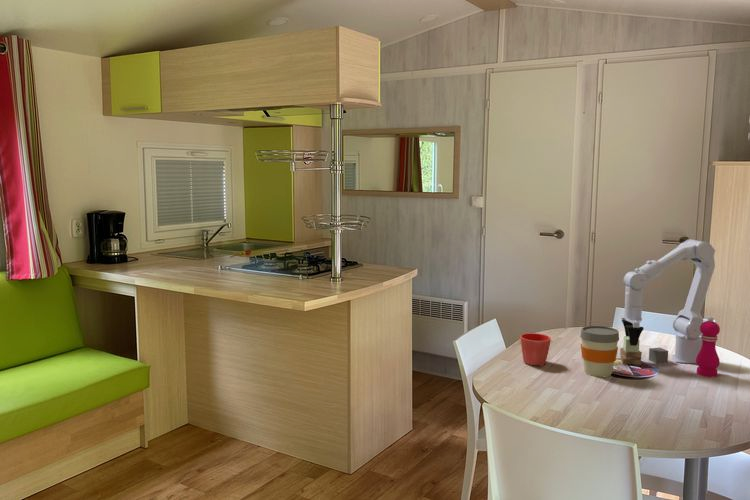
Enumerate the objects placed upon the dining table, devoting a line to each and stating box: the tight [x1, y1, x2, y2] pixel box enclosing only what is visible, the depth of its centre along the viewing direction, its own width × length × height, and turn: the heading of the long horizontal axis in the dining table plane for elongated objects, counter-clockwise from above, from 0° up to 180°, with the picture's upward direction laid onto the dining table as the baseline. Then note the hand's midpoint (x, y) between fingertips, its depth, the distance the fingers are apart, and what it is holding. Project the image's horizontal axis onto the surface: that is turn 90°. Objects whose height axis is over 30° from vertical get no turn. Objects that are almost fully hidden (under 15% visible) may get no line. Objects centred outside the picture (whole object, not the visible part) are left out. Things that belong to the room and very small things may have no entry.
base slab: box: [619, 355, 642, 366], centre depth 231 cm, size 6×6×2 cm
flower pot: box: [520, 332, 552, 366], centre depth 230 cm, size 11×11×10 cm
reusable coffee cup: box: [580, 325, 620, 378], centre depth 219 cm, size 13×13×15 cm
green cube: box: [622, 335, 641, 352], centre depth 230 cm, size 4×4×4 cm
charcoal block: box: [648, 347, 669, 365], centre depth 231 cm, size 4×4×4 cm
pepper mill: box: [695, 316, 721, 378], centre depth 216 cm, size 7×7×20 cm
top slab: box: [619, 347, 642, 360], centre depth 230 cm, size 6×6×2 cm
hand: (631, 342), depth 230 cm, fingers open, 7 cm apart
